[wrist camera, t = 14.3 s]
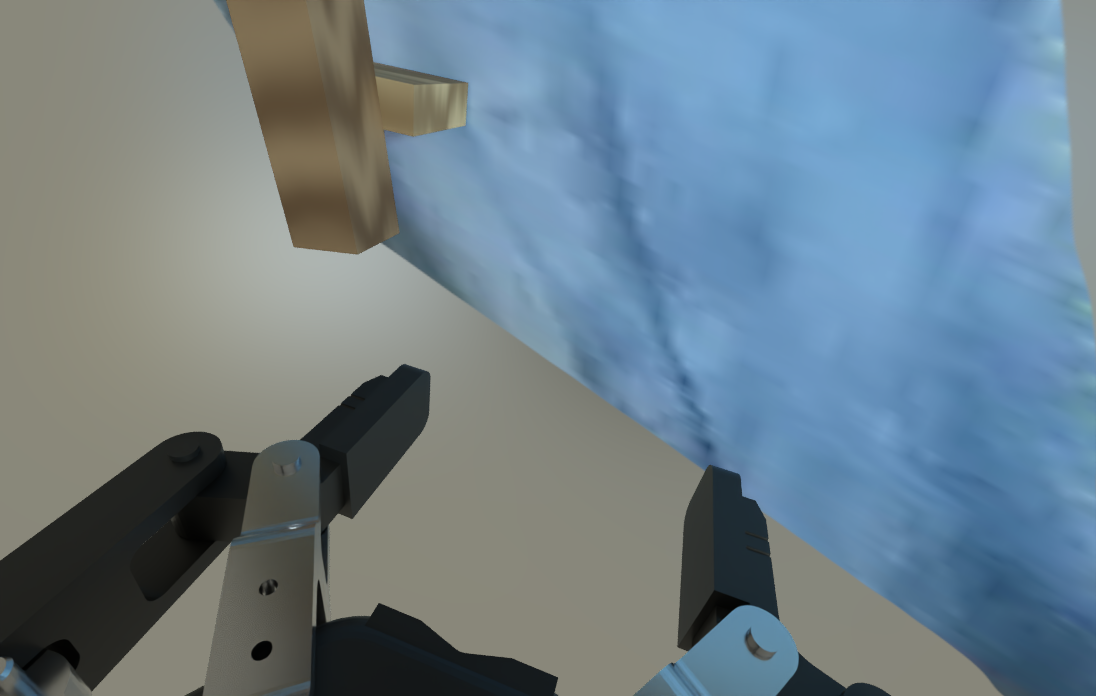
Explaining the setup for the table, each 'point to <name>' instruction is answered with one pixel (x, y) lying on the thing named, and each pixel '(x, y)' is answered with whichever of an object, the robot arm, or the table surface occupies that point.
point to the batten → (319, 118)
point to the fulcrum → (419, 101)
